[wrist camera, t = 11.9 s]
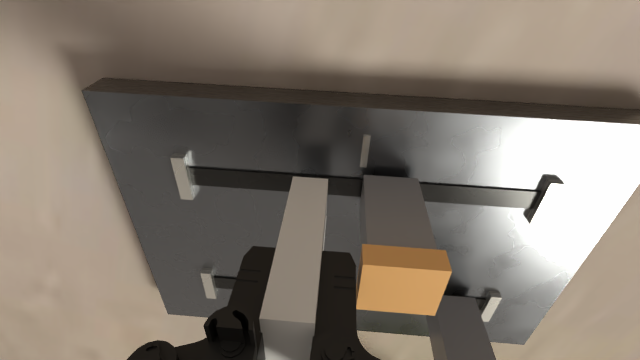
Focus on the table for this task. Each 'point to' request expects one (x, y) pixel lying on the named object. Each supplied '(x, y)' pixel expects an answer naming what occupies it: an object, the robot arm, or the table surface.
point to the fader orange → (398, 250)
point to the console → (347, 178)
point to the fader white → (459, 331)
